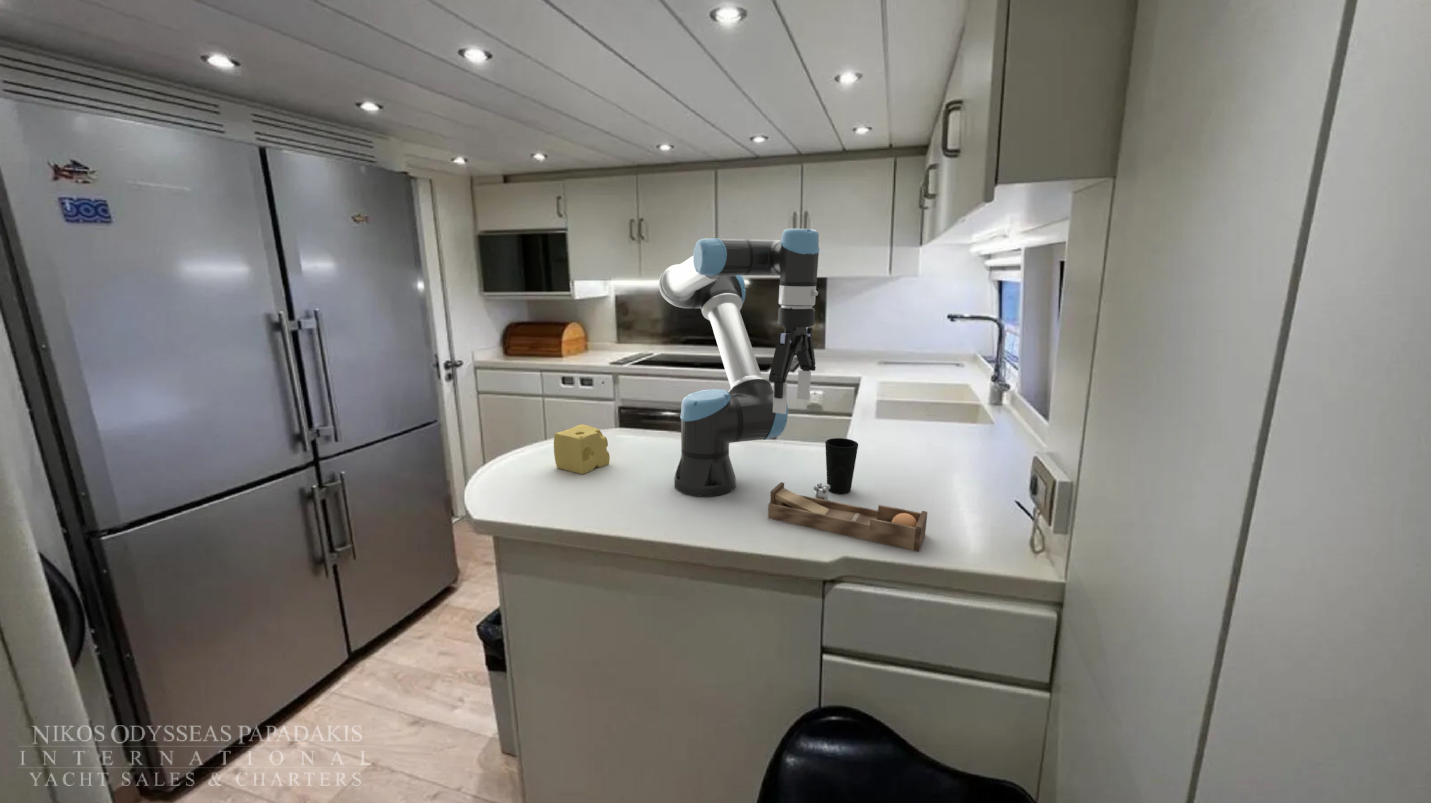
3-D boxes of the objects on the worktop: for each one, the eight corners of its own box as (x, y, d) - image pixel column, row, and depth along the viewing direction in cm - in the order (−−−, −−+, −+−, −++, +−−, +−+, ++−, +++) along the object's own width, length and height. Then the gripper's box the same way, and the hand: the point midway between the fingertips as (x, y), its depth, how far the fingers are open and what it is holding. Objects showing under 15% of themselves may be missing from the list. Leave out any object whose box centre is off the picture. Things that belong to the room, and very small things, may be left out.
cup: (855, 497, 132) (858, 448, 129) (822, 494, 134) (825, 446, 131) (854, 485, 139) (857, 439, 137) (823, 482, 141) (825, 437, 138)
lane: (768, 517, 121) (768, 492, 119) (781, 504, 128) (782, 480, 126) (919, 551, 107) (921, 523, 105) (925, 534, 114) (927, 507, 112)
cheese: (610, 464, 154) (608, 429, 151) (581, 476, 145) (579, 439, 142) (582, 457, 159) (581, 423, 157) (553, 468, 150) (551, 432, 148)
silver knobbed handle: (806, 507, 126) (807, 486, 125) (813, 499, 131) (814, 479, 130) (828, 511, 124) (829, 490, 123) (835, 503, 128) (836, 483, 127)
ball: (897, 513, 109) (884, 532, 111) (920, 528, 107) (906, 547, 109) (901, 504, 113) (889, 522, 115) (924, 519, 111) (911, 537, 114)
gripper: (790, 312, 104) (785, 422, 109) (833, 303, 125) (827, 396, 130) (754, 310, 107) (750, 416, 113) (801, 302, 129) (796, 391, 134)
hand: (791, 405), depth 122 cm, fingers open, 13 cm apart
